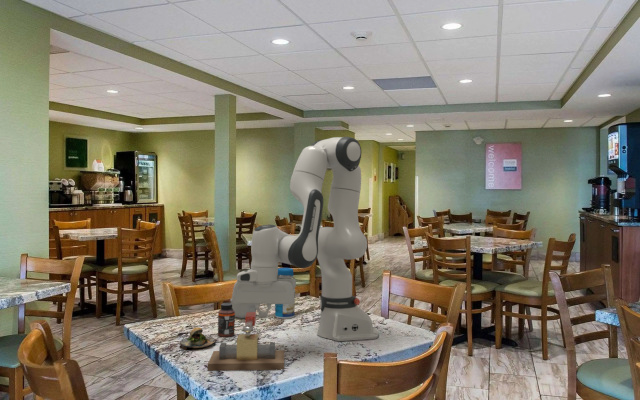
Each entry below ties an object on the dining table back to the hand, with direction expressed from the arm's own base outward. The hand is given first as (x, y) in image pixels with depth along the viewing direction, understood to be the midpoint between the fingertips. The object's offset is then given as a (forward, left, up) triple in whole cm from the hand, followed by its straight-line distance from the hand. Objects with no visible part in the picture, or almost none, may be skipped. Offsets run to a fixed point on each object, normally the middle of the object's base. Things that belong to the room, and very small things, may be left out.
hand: (263, 317), depth 166 cm
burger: (+22, -7, -12) cm, 26 cm away
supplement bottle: (+14, -19, -11) cm, 26 cm away
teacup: (+10, -48, -11) cm, 51 cm away
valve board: (+4, +12, -11) cm, 17 cm away
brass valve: (+4, +12, -9) cm, 16 cm away
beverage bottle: (-7, -46, -11) cm, 48 cm away
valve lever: (+4, +5, -2) cm, 7 cm away
